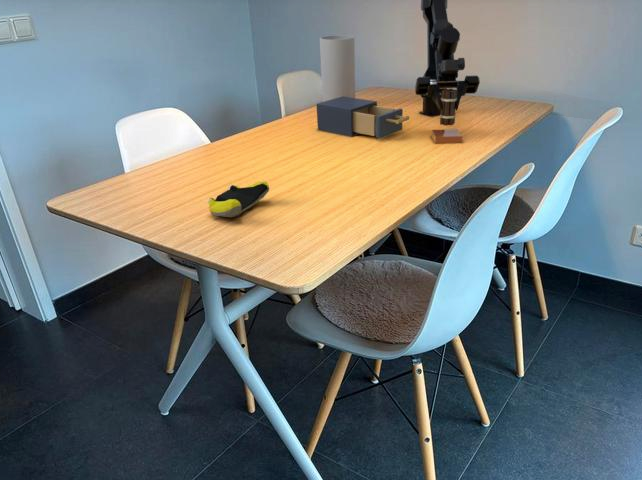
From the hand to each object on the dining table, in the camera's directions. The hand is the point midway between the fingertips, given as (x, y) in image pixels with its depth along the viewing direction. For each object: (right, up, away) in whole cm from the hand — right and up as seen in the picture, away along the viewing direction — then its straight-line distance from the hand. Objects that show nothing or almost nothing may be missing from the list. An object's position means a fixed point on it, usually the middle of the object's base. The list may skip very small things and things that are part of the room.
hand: (448, 109), depth 166 cm
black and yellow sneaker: (-55, -35, -39) cm, 76 cm away
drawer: (-20, -4, +12) cm, 23 cm away
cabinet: (-30, -1, +20) cm, 36 cm away
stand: (0, -7, +6) cm, 10 cm away
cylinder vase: (-34, +14, +46) cm, 59 cm away
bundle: (0, -3, +3) cm, 5 cm away
